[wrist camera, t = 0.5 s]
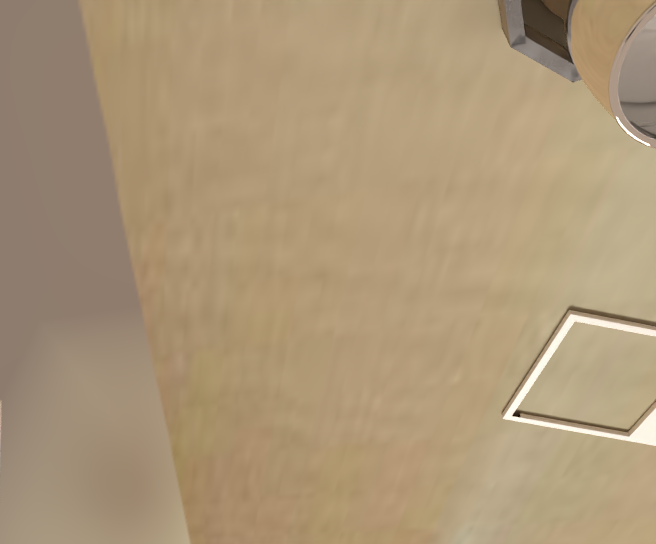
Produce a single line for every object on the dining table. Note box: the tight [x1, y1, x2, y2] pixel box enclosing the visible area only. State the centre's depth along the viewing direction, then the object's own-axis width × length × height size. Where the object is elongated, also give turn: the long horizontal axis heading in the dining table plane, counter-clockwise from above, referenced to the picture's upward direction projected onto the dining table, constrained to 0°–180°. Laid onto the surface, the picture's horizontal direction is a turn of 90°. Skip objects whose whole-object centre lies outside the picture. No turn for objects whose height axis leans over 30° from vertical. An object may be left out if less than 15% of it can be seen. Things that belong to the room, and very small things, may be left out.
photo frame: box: [502, 310, 656, 446], centre depth 54 cm, size 15×1×18 cm
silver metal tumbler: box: [542, 0, 656, 148], centre depth 26 cm, size 7×7×15 cm
